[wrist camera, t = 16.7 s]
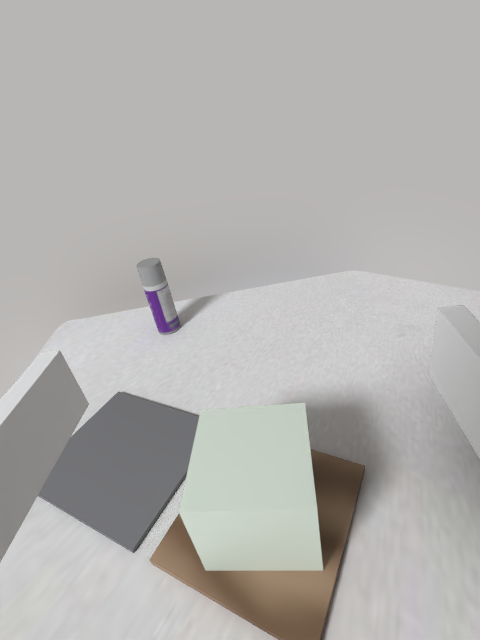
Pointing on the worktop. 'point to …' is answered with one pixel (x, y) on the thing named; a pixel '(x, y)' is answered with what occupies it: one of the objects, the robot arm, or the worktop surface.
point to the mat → (123, 467)
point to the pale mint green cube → (252, 490)
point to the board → (278, 586)
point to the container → (158, 295)
